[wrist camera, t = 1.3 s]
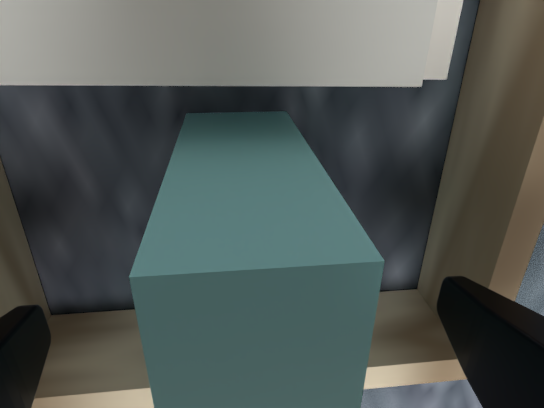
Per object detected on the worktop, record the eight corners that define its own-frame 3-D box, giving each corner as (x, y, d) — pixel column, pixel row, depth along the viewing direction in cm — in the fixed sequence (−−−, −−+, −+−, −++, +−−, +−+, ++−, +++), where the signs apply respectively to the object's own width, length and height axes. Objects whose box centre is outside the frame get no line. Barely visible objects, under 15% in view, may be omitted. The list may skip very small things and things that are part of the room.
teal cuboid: (286, 111, 12) (384, 260, 5) (282, 282, 15) (339, 535, 8) (186, 112, 11) (129, 277, 4) (202, 287, 14) (183, 557, 7)
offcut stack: (440, -60, 10) (535, -94, 7) (416, 71, 12) (487, 91, 9) (7, -82, 9) (-107, -132, 6) (41, 67, 11) (-35, 90, 8)
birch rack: (542, -119, 10) (690, -178, 7) (435, 306, 16) (487, 376, 13) (-151, -152, 8) (-381, -255, 5) (29, 337, 14) (-24, 428, 11)
